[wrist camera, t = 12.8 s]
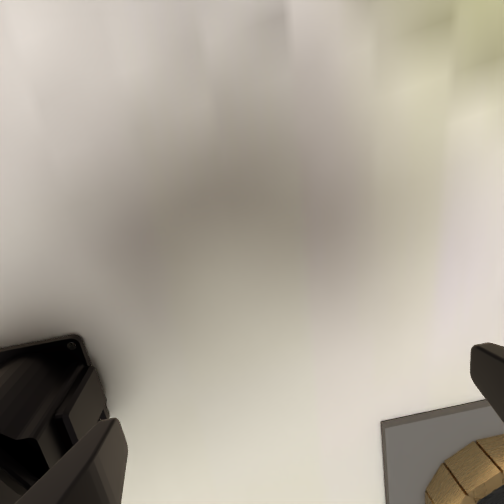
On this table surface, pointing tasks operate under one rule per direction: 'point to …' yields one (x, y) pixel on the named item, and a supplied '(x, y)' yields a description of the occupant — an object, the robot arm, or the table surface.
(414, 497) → the mat
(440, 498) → the ring collar
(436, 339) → the table surface
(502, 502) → the grey tall cylinder
